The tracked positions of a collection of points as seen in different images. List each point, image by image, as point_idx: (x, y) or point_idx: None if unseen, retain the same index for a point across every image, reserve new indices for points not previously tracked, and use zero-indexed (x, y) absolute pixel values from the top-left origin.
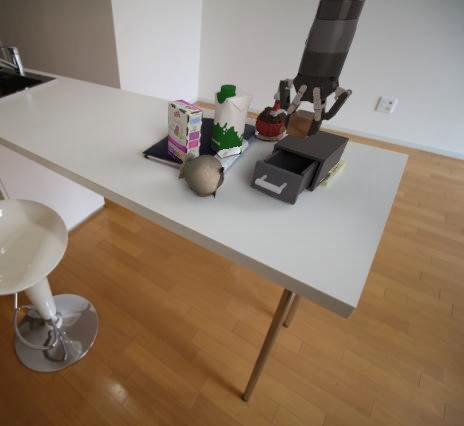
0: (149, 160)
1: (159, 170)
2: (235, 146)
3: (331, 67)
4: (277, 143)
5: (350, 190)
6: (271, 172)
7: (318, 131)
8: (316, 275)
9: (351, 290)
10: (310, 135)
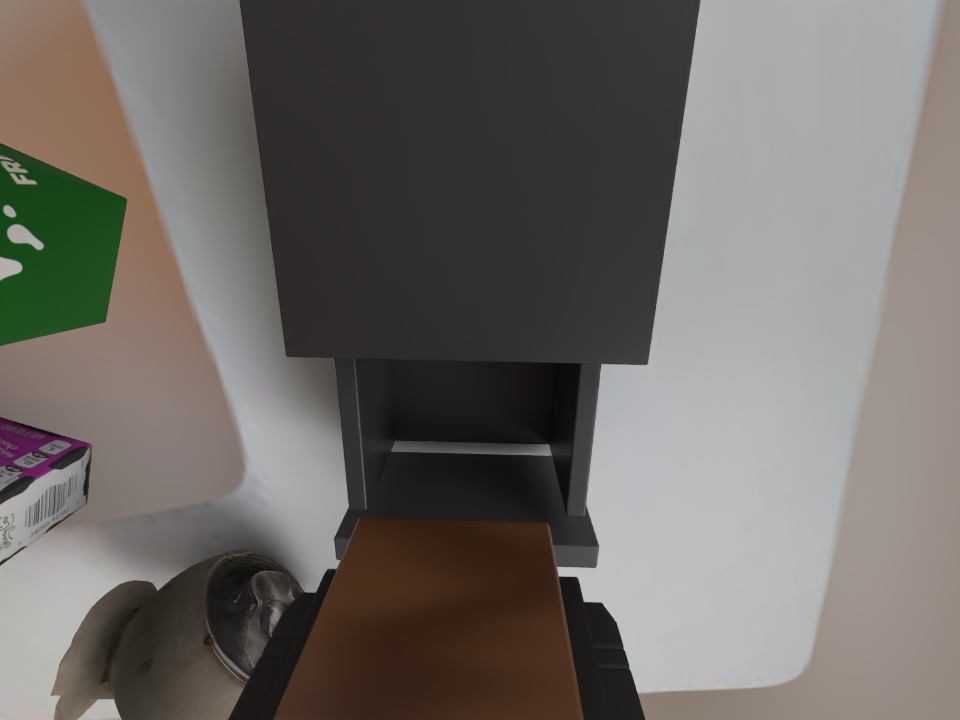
0: None
1: (40, 568)
2: (72, 269)
3: None
4: (295, 335)
5: (742, 168)
6: None
7: (614, 622)
8: (720, 662)
9: (803, 655)
10: None
